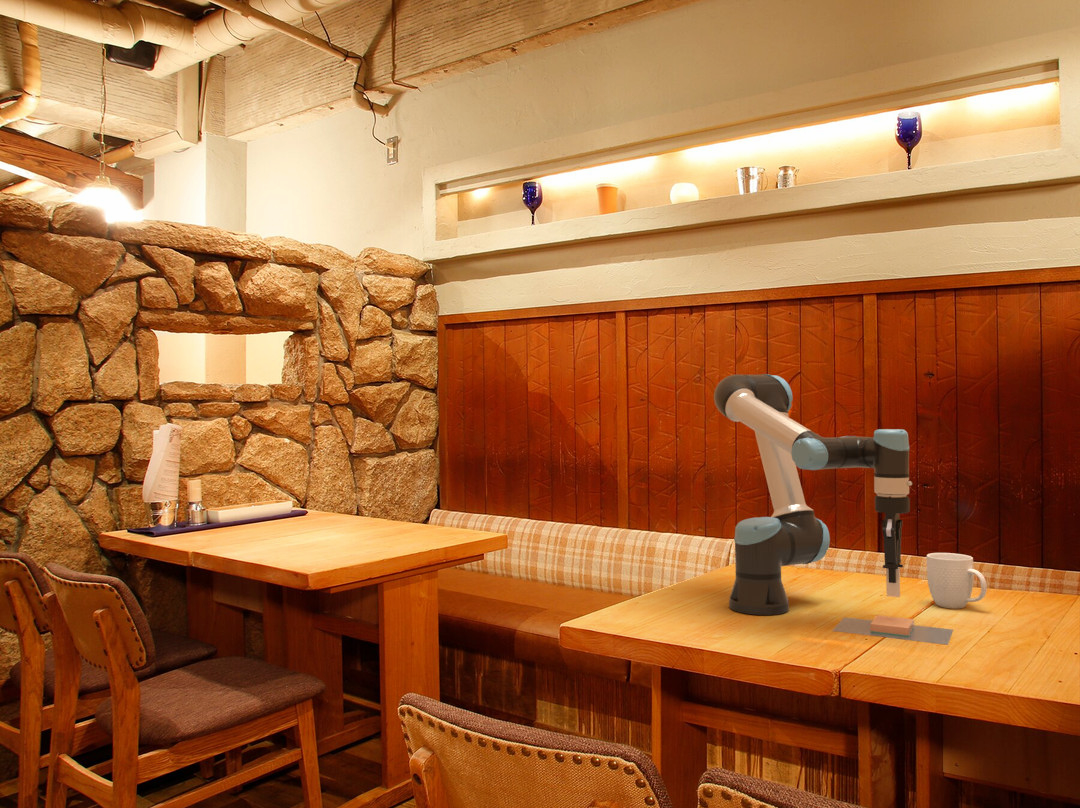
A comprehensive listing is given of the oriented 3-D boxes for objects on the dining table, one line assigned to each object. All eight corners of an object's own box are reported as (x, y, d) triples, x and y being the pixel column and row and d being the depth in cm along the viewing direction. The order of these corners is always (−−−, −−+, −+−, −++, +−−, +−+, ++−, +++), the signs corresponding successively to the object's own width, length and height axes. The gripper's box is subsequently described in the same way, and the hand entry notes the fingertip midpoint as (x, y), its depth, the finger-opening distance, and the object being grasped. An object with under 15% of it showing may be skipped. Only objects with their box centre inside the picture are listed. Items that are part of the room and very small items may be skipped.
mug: (997, 609, 210) (996, 558, 210) (974, 616, 204) (973, 563, 204) (942, 599, 222) (941, 551, 222) (918, 604, 216) (917, 555, 216)
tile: (877, 623, 194) (870, 632, 186) (877, 615, 194) (870, 623, 186) (914, 627, 190) (908, 637, 182) (913, 619, 190) (908, 628, 182)
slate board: (832, 634, 188) (832, 630, 188) (844, 621, 200) (844, 617, 200) (947, 649, 176) (947, 644, 176) (953, 633, 188) (953, 629, 188)
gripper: (905, 498, 184) (907, 603, 183) (913, 493, 195) (914, 592, 195) (870, 497, 187) (871, 599, 187) (879, 491, 199) (880, 588, 198)
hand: (893, 595), depth 191 cm, fingers closed
